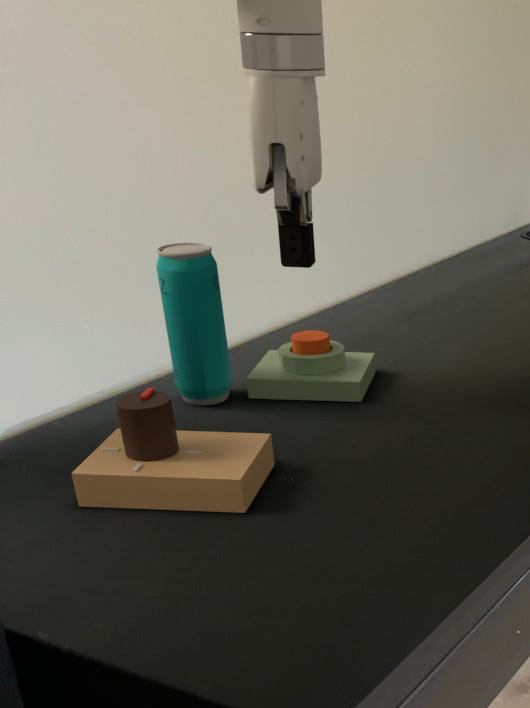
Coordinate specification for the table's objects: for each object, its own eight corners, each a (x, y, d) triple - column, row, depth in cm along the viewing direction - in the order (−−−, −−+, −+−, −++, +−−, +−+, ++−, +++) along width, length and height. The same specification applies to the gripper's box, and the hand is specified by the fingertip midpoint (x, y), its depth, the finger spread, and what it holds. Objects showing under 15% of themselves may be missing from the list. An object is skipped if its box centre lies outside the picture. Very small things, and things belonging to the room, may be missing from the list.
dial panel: (78, 506, 82) (70, 471, 80) (123, 459, 90) (116, 426, 88) (245, 513, 81) (240, 477, 79) (274, 464, 89) (271, 431, 88)
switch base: (248, 398, 104) (243, 361, 102) (271, 368, 112) (267, 333, 110) (361, 402, 103) (358, 364, 101) (376, 372, 112) (374, 336, 109)
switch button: (289, 357, 104) (287, 340, 103) (297, 345, 108) (295, 329, 107) (326, 358, 104) (325, 341, 103) (333, 346, 107) (332, 330, 106)
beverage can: (231, 387, 107) (211, 240, 99) (237, 404, 102) (217, 252, 94) (176, 392, 105) (151, 243, 97) (180, 410, 101) (155, 256, 93)
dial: (169, 462, 82) (159, 406, 79) (117, 460, 82) (106, 404, 80) (185, 442, 86) (177, 388, 83) (136, 440, 86) (125, 386, 83)
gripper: (263, 52, 97) (279, 249, 107) (219, 59, 85) (242, 281, 95) (339, 54, 97) (348, 251, 107) (306, 61, 84) (320, 284, 94)
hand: (298, 265), depth 101 cm, fingers closed
